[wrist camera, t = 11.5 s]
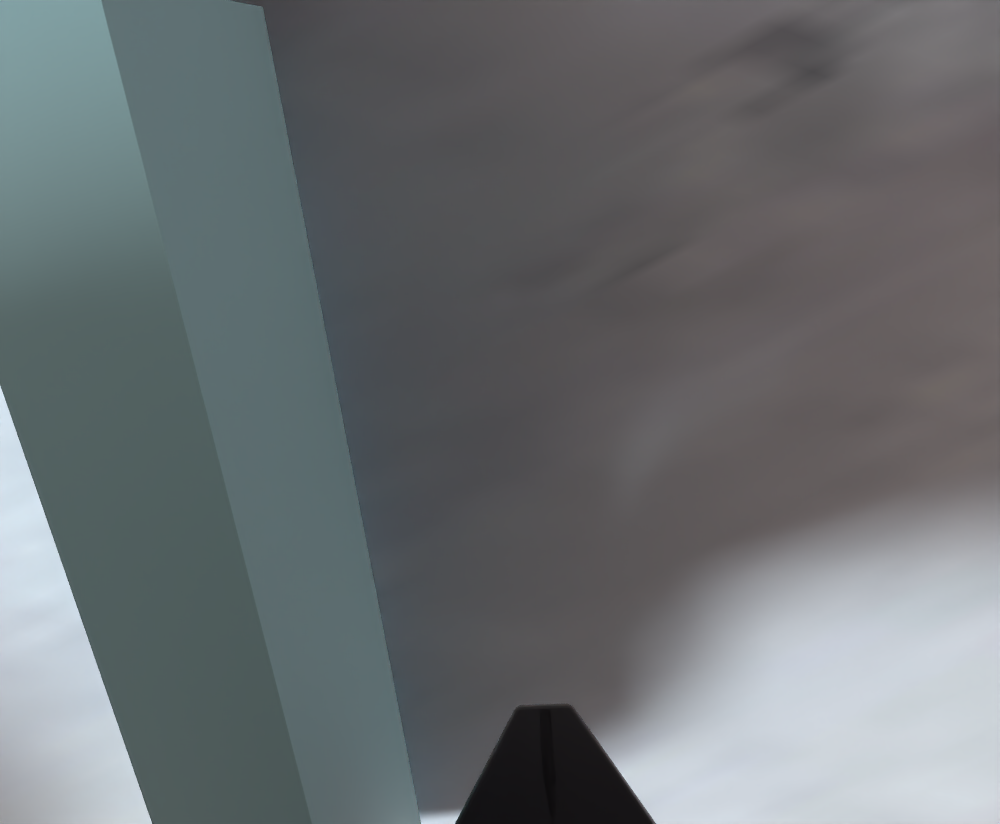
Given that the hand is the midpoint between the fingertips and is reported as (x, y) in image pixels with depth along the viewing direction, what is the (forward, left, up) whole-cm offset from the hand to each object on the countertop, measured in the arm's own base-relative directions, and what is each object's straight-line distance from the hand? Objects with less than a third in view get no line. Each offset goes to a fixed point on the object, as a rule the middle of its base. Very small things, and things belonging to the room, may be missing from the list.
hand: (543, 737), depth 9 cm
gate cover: (+3, 0, -2) cm, 3 cm away
